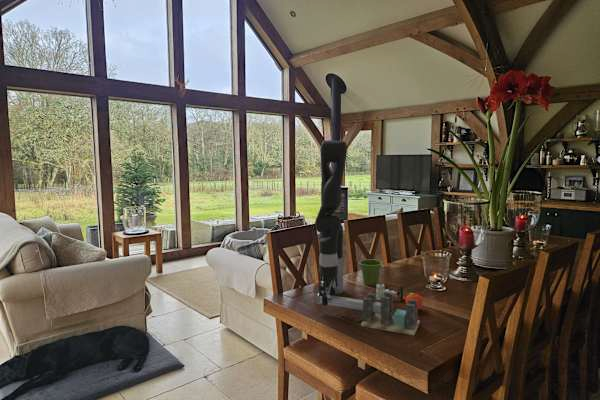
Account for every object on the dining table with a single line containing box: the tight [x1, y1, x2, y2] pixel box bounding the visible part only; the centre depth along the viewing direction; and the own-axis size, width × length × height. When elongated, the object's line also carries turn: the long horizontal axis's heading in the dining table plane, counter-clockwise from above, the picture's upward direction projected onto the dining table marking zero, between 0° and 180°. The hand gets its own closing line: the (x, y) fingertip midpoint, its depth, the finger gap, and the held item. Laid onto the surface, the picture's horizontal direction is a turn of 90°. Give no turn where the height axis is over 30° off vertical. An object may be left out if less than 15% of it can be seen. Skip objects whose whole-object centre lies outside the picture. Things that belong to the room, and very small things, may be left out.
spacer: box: [393, 308, 406, 327], centre depth 149 cm, size 4×5×4 cm
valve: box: [375, 283, 404, 301], centre depth 178 cm, size 7×7×12 cm
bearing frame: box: [360, 292, 421, 336], centre depth 151 cm, size 20×12×12 cm, turn 64°
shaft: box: [315, 292, 381, 314], centre depth 158 cm, size 30×4×4 cm, turn 64°
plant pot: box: [358, 258, 383, 286], centre depth 200 cm, size 12×12×11 cm
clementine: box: [405, 292, 424, 310], centre depth 166 cm, size 8×7×7 cm
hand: (328, 301), depth 163 cm, fingers open, 8 cm apart
